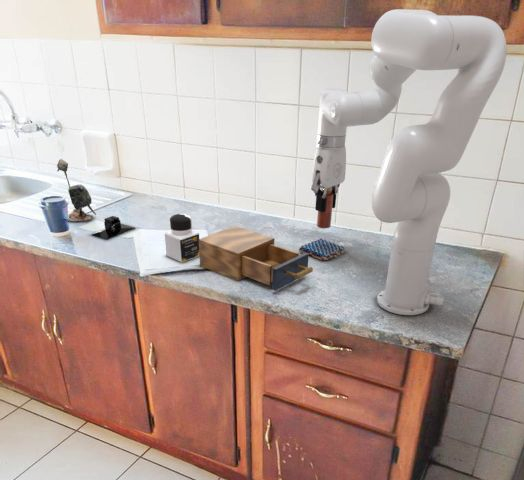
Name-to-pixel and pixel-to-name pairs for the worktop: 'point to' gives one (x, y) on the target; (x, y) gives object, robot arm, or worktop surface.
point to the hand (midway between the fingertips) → (325, 208)
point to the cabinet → (229, 250)
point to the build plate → (112, 228)
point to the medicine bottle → (181, 239)
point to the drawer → (274, 265)
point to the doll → (325, 217)
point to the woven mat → (322, 249)
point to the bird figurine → (77, 197)
